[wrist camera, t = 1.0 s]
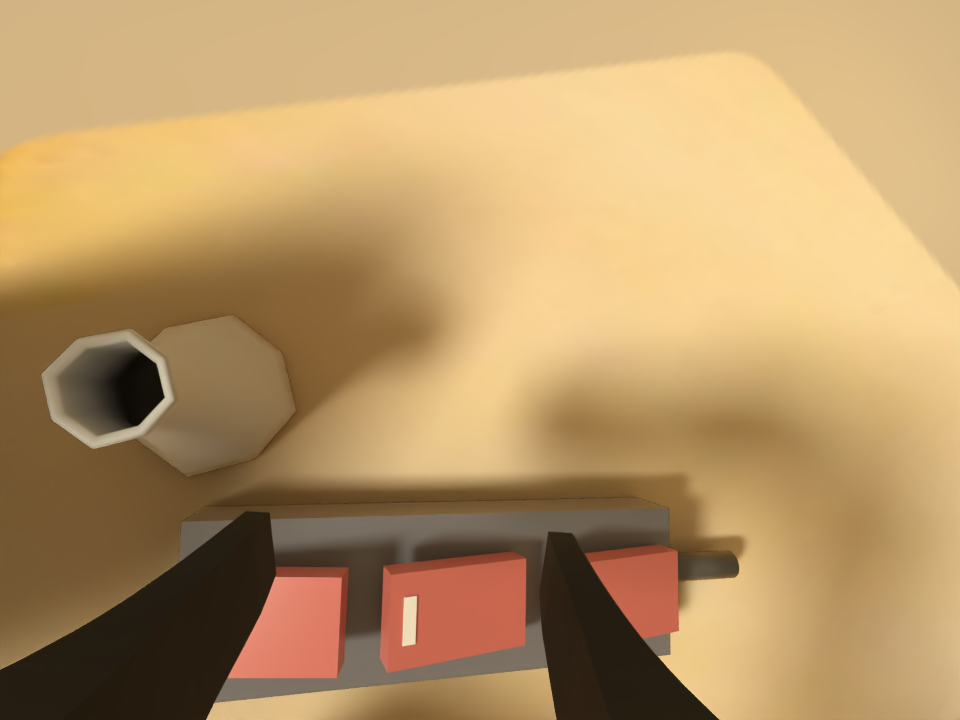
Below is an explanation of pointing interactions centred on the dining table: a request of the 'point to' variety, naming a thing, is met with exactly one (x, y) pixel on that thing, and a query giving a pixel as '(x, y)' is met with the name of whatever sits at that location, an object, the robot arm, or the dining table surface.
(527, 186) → the dining table surface
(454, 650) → the block
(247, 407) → the flask
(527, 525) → the power strip
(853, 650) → the dining table surface
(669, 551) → the red rectangular block
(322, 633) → the rocker
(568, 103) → the dining table surface
